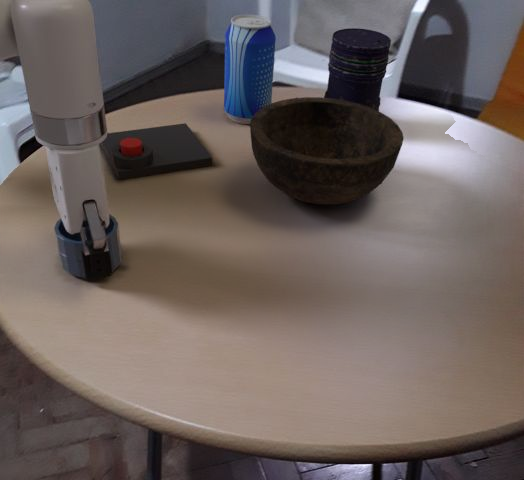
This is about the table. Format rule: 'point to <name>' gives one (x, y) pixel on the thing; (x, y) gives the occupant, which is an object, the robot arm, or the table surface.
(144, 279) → the table surface
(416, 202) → the table surface
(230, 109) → the beer can
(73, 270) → the small cup
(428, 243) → the table surface
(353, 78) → the storage jar
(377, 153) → the bowl
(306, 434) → the table surface
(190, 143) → the base
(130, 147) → the button
